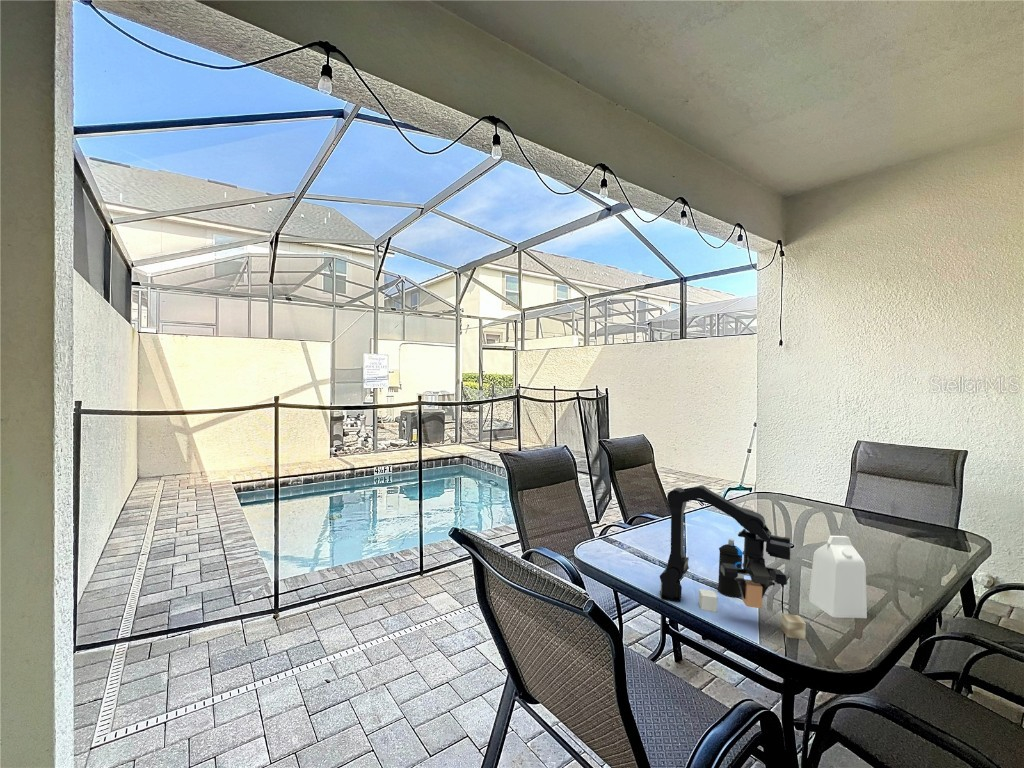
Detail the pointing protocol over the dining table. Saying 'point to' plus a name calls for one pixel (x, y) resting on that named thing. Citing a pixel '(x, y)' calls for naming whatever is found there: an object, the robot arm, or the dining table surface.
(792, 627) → the birch cube
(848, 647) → the dining table surface
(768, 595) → the dining table surface
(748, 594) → the brown block
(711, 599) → the off-white cube
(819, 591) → the milk
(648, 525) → the dining table surface
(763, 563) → the robot arm
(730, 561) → the aerosol can
